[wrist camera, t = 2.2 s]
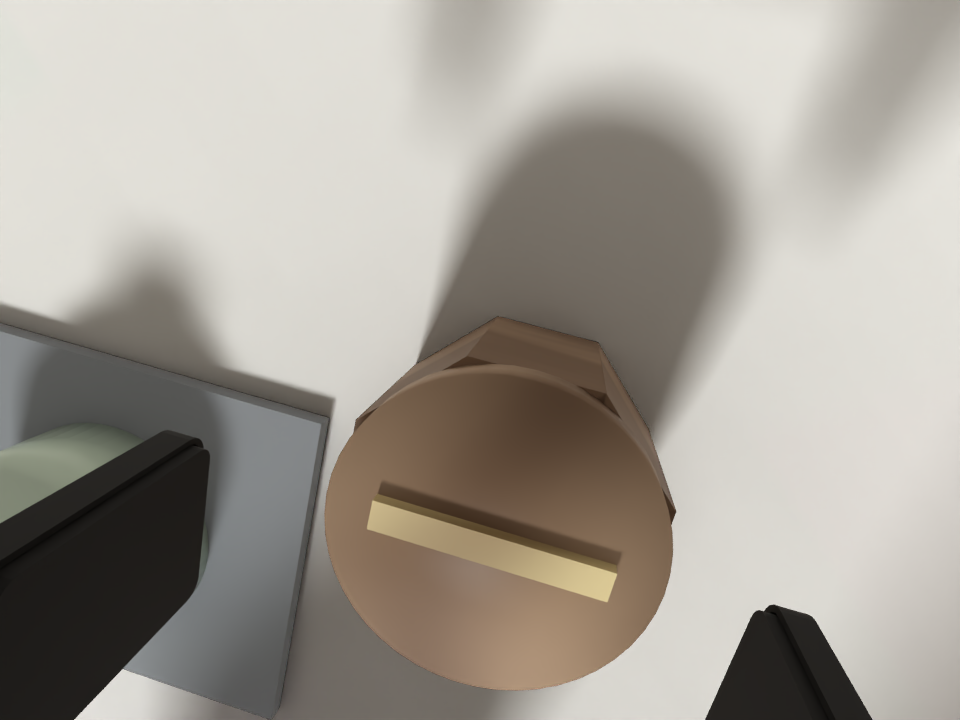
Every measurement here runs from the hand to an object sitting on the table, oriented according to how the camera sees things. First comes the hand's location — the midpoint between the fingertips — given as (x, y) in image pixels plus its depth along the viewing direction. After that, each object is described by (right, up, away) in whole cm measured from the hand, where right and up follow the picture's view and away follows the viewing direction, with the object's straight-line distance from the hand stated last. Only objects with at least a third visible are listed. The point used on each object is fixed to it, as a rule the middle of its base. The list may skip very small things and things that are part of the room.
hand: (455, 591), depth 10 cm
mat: (-13, -2, +11) cm, 17 cm away
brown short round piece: (+2, +1, +8) cm, 8 cm away
